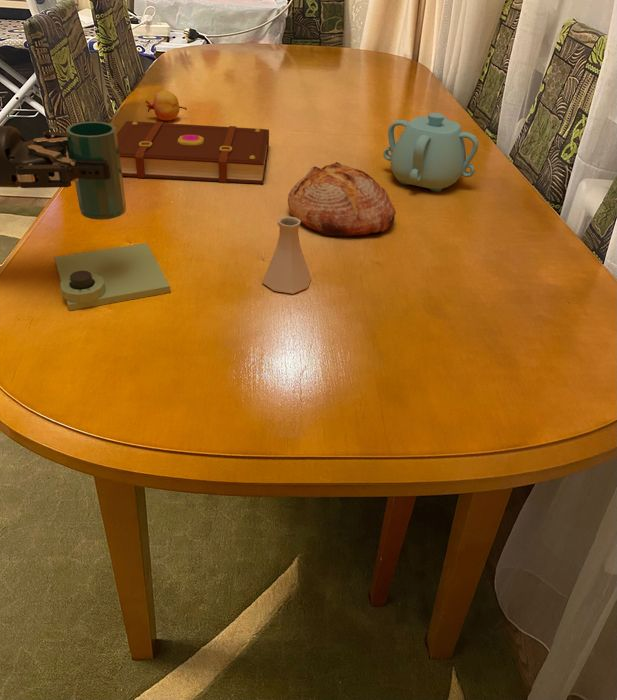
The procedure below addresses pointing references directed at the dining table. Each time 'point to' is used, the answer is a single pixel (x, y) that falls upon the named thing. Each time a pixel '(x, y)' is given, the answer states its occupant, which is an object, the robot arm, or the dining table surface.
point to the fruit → (165, 105)
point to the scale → (112, 276)
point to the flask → (288, 260)
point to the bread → (341, 202)
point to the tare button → (81, 280)
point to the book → (193, 152)
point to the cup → (98, 194)
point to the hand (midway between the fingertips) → (114, 160)
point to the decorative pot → (430, 152)
